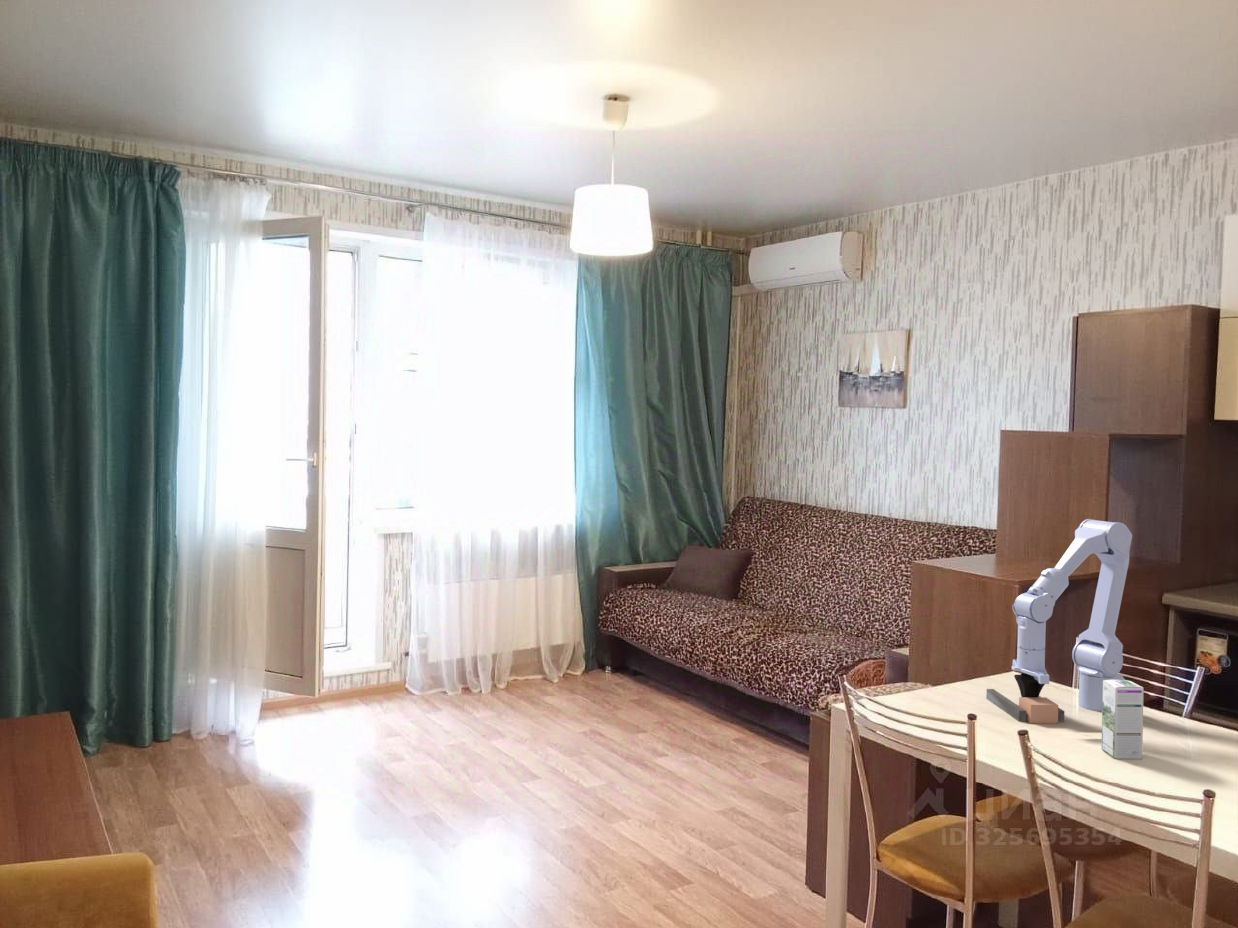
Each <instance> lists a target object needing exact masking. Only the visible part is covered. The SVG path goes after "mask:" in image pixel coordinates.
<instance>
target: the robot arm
mask: <svg viewBox="0 0 1238 928" xmlns="http://www.w3.org/2000/svg"><path fill="white" fill-rule="evenodd" d="M1132 539H1133V534H1132V532H1131V531H1130V529H1129V528H1128V527H1127V525H1126V524H1125V523H1123V522H1119V521H1118V522H1115V521H1113V522H1112V521H1106V520H1105V521H1104V520H1096V519H1093V518H1087V519H1084V520H1083V521H1082V522H1081V523H1080V524H1079V526H1078V527H1077V529H1075V531H1074V540H1072V542H1071V543H1070V545H1069V546H1068V548H1067V549H1066V550H1065V552H1064V553H1063V555H1062V556H1061V558H1060V559H1059V561H1058V562H1057V563H1056V565H1054V567H1053V568H1052V567H1051V568H1049V567H1048V568H1046V569H1043V570H1042V571H1041V573H1040V576H1039V577H1038V578H1037V579H1036V581H1035V582H1034V583H1033V584H1032V585H1031V586H1030V587H1029V589H1028V590H1027V592H1024V593H1021V594H1020V595H1018V596H1017V597H1016V598H1015V600H1014V603H1013V604H1012V605H1011V607H1012V608H1011V609H1012V612H1013V613H1014V615H1015V620H1016V621H1015V622H1016V624H1017V643H1016V644H1017V650H1016V653H1017V654H1016V659H1012V666H1011V670H1012V671H1014V672H1020V674H1014V680H1015V681H1016V683H1017V686H1018V689H1019V692H1020V697H1039V696H1040V694H1041V691H1042V689H1044V686H1045V685H1049V684H1050V675H1049V674H1048V672H1047V670H1046V668H1045V662H1046V661H1045V659H1046V631H1047V630H1046V629H1047V628H1046V627H1047V621H1048V620H1049V619H1050V618H1051V617H1052V615H1053V614H1054V613H1053V611H1054V607H1055V606H1056V601H1057V600H1058V598H1059V597H1060V596H1061V595H1062V594H1063V592H1064V591H1065V590H1066V589H1067V588H1068V586H1069V584H1070V583H1069V581H1070V580H1069V576H1071V575H1072V574H1073V573H1074V571H1076V569H1077V568H1078V567H1079V566H1080V565H1081V564H1083V562H1084V561H1085V560H1086V559H1088V557H1089V556H1090V555H1093V554H1094V555H1096V556H1097V558H1098V560H1099V561H1100V562H1101V565H1100V570H1099V576H1098V580H1097V585H1096V589H1095V596H1094V601H1093V605H1092V610H1091V614H1090V621H1089V625H1088V628H1087V629H1086V630H1084V631H1083V632H1081V633H1080V634H1078V639H1077V641H1076V643H1075V645H1074V646H1073V648H1072V652H1071V656H1072V657H1071V658H1072V661H1073V663H1074V664H1075V665H1076V666H1077V669H1076V670H1077V671H1078V672H1079V678H1078V679H1079V681H1078V707H1080V708H1081V709H1085V710H1088V711H1095V712H1102V705H1103V680H1116V679H1118V680H1126V679H1125V678H1124V676H1123V675H1122V674H1120V671H1121V670H1122V668H1123V665H1124V656H1123V649H1124V645H1123V643H1122V642H1121V641H1120V639H1119V638H1118V637H1117V636H1116V631H1117V624H1118V619H1119V615H1120V611H1121V610H1120V609H1121V604H1122V599H1123V594H1124V588H1125V584H1126V579H1127V574H1128V570H1129V569H1128V568H1129V563H1130V550H1131V546H1132ZM1100 644H1101V645H1100Z"/></svg>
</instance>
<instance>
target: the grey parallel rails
mask: <svg viewBox="0 0 1238 928" xmlns="http://www.w3.org/2000/svg"><path fill="white" fill-rule="evenodd" d="M985 694H986V697H985V699H986V700H987V701H989V702H990V703H992V704H993V705H995V706H996V707H997V708H999V709H1000V710H1002V711H1003V712H1004V713H1006V714H1007V715H1009V716H1010V717H1011V718H1013V719H1014V720H1016V721H1018V722H1026V723H1027V720H1026V710H1024V709H1023V708H1021V707H1020V706H1019V704H1017V703H1015V702H1014V701H1012V700H1011V699H1009V698H1008V697H1006V696H1004V695H1003V694H1002V693H1000V692H998V691H997V690H996V689H994V688H986V693H985ZM1039 697H1041V696H1040V695H1039ZM1065 713H1066V712H1065V710H1063V709H1062V708H1060V707H1058V723H1064V722H1065Z"/></svg>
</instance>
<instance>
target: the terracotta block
mask: <svg viewBox="0 0 1238 928" xmlns="http://www.w3.org/2000/svg"><path fill="white" fill-rule="evenodd" d="M1018 706H1020V707H1021V708H1023V709H1024V710H1026V722H1027V723H1029V724H1058V723H1059V722H1058V708H1059V704H1057V703H1055V702H1054V701H1052V700H1051V699H1050V698H1048V697H1042V696H1040V697H1021V696H1019V697H1018Z"/></svg>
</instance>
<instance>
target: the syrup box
mask: <svg viewBox="0 0 1238 928" xmlns="http://www.w3.org/2000/svg"><path fill="white" fill-rule="evenodd" d="M1101 712H1102V714H1101V715H1102V717H1101V721H1102V722H1101V750H1102V751H1103V752H1105V754H1108V756H1110V757H1111V758H1113V759H1118V760H1143V742H1144V741H1143V738H1144V737H1143V735H1144V724H1143V723H1144V687H1143V686H1141V685H1139V684H1138V683H1135V682H1134V681H1132V680H1128V679H1125V680H1118V679H1116V680H1103V705H1102V711H1101Z"/></svg>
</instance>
